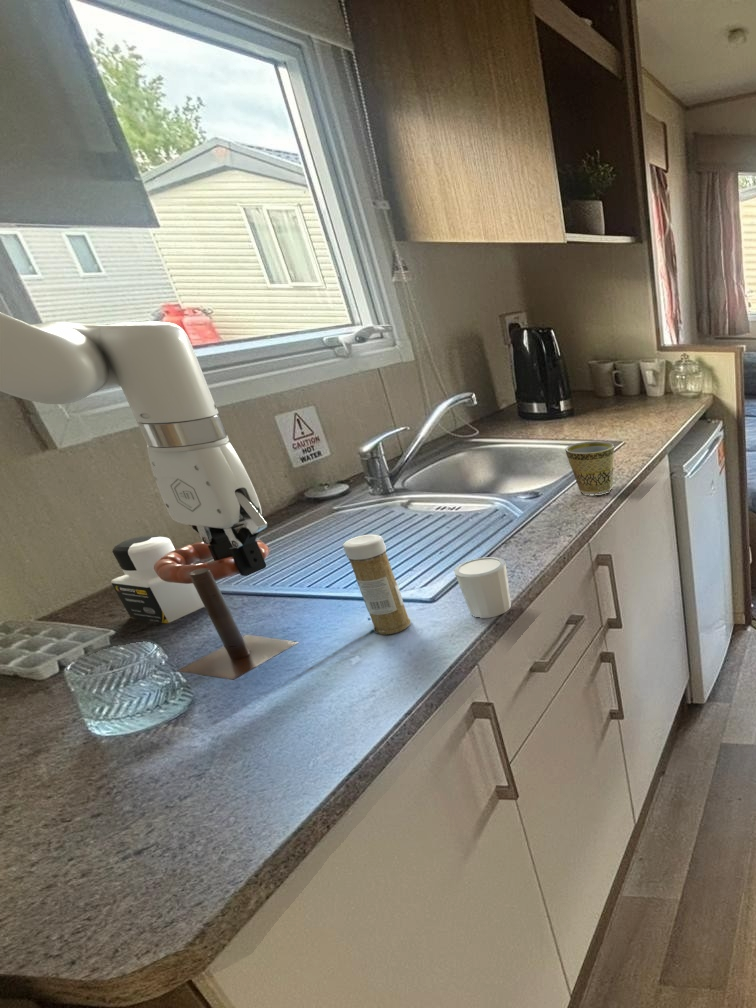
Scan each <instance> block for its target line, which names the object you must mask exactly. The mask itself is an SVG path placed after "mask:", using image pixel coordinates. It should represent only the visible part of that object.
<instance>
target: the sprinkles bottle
mask: <svg viewBox="0 0 756 1008" xmlns="http://www.w3.org/2000/svg"><path fill="white" fill-rule="evenodd" d="M342 547H343V550H344V553H345V556H346V558H347V559H348V561H349V562H350V565H351V568H352V570H353V573H354V577H355V580H356V584H357V587H358V588H359V591H360V594H361V596H362V599H363V602H364V605H365V608H366V610H367V612H368V614H369V616H370V619H371V623H372V625H373V631H374V632H375V633H376V634H378V635H382V636H383V635H384V636H385V635H386V636H387V635H393V634H397V633H401V632H402V631H404V630H406V629H408V627H409V626H410V625H411V619H410V618H409V616H408V612H407V610H406V607H405V604H404V599H403V597H402V593H401V591H400V588H399V585H398V583H397V581H396V577H395V575H394V572H393V570H392V566H391V563H390V561H389V557H388V555H387V547H386V544H385V541H384V538H383V536H381V535H379V534H363V535H358V536H355V537H351V538H350V539H347V540H346V541H345V542H344V543H343V544H342Z"/></svg>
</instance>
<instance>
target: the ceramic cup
mask: <svg viewBox="0 0 756 1008" xmlns="http://www.w3.org/2000/svg"><path fill="white" fill-rule="evenodd" d="M564 450H565V454H566V458H567V460H568V463H569V466H570V468H571V471H572V472H573V476H574V479H575V482H576V483H577V487H578V490H579V492H580V493H581V492H582V493H584V494H589V495H590V494H594V495H595V494H602V493H606V492H609V491H610V490H611V489H612V490H613V489H614V488H613V487H614V486H613V485H614V484H613V483H614V462H615V446H614V444H613V443H611V442H609V441H602V440H601V441H600V440H592V441H583V442H582V441H581V442H577V443H573V444H570V445H568V446H567V447H565V449H564ZM612 490H611V491H612Z"/></svg>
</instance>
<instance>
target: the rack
mask: <svg viewBox="0 0 756 1008" xmlns="http://www.w3.org/2000/svg"><path fill="white" fill-rule="evenodd" d="M189 576H190V578H191V580H192V582H193V584H194V586H195V588H196V590H197V592H198V594H199V596H200V598H201V600H202V602H203V604H204V606H205V607H204V608H205V611H206V612H207V614H208V616H209V618H210V620H211V622H212V624H213V626H214V628H215V630H216V632H217V634H218V636H219V639H220V641H221V643H222V645H223V646H221V647H219V648H218V649H216V650H214V651H211V652H210V653H208V654H206V655H204V656H202V657H200V658H198V659H197V660H195V661H193V662H191V663H189V664H187V665H185V666H183V667H180V668H178V669H177V670H176V671H177V672H181V673H188V674H192V675H193V674H194V675H200V676H205V677H206V676H207V677H212V678H219V679H224V680H230V681H231V680H232V681H235V680H237V679H238V678H240V677H242V676H243V675H245V674H247V673H249V672H250V671H252V670H254V669H256V668H258V667H260V666H261V665H263V664H264V663H266V662H268V661H269V660H272V659H274V658H275V657H277V656H278V655H280V654H282V653H283V652H285V651H287V650H290V648H293V647H294V646H296V645H297V644H299V643H300V641H294V640H288V639H282V638H274V637H267V636H260V635H252V634H244V635H242V633H241V632H240V629H239V627H238V625H237V623H236V621H235V619H234V617H233V614H232V612H231V610H230V608H229V606H228V604H227V602H226V599H225V598H224V596H223V594H222V591H221V589H220V587H219V585H218V582H217V580H215V579H214V577H213V575H212V573H211V570H210V569H209V568H202V569H197V570H194V571H192V572H190V573H189Z"/></svg>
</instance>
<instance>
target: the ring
mask: <svg viewBox="0 0 756 1008" xmlns="http://www.w3.org/2000/svg"><path fill="white" fill-rule="evenodd" d="M257 544H258V546H259V548H260V551H261V553H262V556H263V558H264V561H266V559H267V558H268V557H269V555H270V551H271V550H270V547H269V546H268V545H267V544H266V543H265V542H263V540H261V539H259V540H258V541H257ZM209 545H210V544H209ZM209 545H206V544H204V543H203V541H199V542H195V543H191V544H187V545H185V546H182V547H179V548H177V549H175V550H174V551H172V552H169V553H167V554H166V555H164V556H163V557H162V558H161V559H159V560H158V561H157V562H156V563H155V565H154V570H155V572H156V573H157V575H158V576H159V577H160V578H161V579H162V580H163V581H166V582H173V583H184V584H191V583H193V582H192V580H191V578H190V576H189V573H190V572H192V571H194V570H197V569H202V568H209V569H210V570H211V573H212V575H213V577H214V579H215V581H218V580H221V579H225V578H229V577H233V576H237V575H240V573H239V570H238V568H237V566H236V563H235V561H234V559H233V556H231V557H228V558H224V559H220V560H216V561H214V560H212V561H208V562H201V561H205V560H209V559H213V557H212V554H211V552H210V550H209V548H208V546H209ZM197 562H198V563H197ZM199 562H200V563H199Z"/></svg>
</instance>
